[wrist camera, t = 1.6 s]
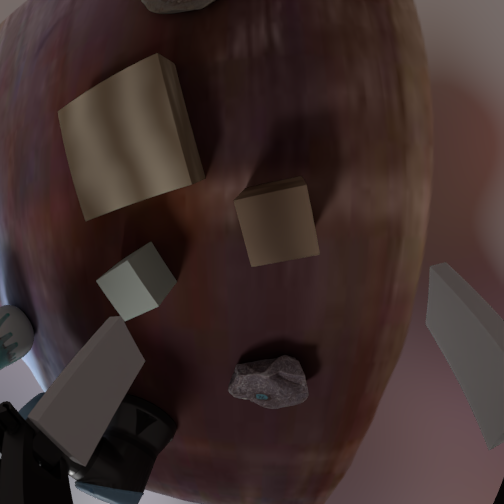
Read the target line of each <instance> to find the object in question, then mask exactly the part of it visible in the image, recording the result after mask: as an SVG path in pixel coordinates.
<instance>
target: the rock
mask: <svg viewBox="0 0 504 504" xmlns="http://www.w3.org/2000/svg"><path fill="white" fill-rule="evenodd" d="M228 390H229V393H230V394H231V395H233V397H236V398H241V399H248V400H250V401H251V402H256V403H257V404H259V405H260V406H263V407H265V408H271V409H277V408H281V407H287V406H292V405H296V404H299V403H302V402H304V401H305V400H306V399H307V397H308V388H307V384H306V377H305V374H304V372H303V370H302V367H301V365H300V363H299V361H298V360H296V358H293V357H290V356H287V355H283V356H280V357H278V358H276V359H265V360H259V361H254V362H248V363H243V364H237V365H236V368H235V373H234V374H233V376H232V378H231V381H230V383H229V388H228Z"/></svg>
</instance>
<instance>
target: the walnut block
mask: <svg viewBox="0 0 504 504" xmlns="http://www.w3.org/2000/svg"><path fill="white" fill-rule="evenodd" d="M234 204H235V208H236V211H237V215H238V219H239V222H240V226H241V230H242V234H243V237H244V241H245V245H246V248H247V252H248V256H249V260H250V263H251V267H254V266H260V265H266V264H271V263H277V262H282V261H287V260H293V259H298V258H304V257H309V256H314V255H319V254H320V253H319V247H318V241H317V236H316V230H315V225H314V219H313V214H312V209H311V204H310V199H309V194H308V189H307V185H306V183H305V181H304V179H303V177H302V176H299V177H294V178H289V179H284V180H280V181H275V182H270V183H266V184H261V185H257V186H252V187H248V188H245V189H244V190H243V191H242V192H241V193H240V194H239V196H238V197H237V198H236V199H235V200H234Z"/></svg>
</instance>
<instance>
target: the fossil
mask: <svg viewBox="0 0 504 504" xmlns="http://www.w3.org/2000/svg"><path fill="white" fill-rule="evenodd" d="M141 1H142V2H143V4H144V5H145V6H146V8H147V9H148V10H149V11H151V12H154V13H159V14H173V13H180V12H186V11H191V10H199V9H202V8H205V7H206V6H208V5H209V4H211V3H213V2H214V1H215V0H141Z"/></svg>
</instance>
